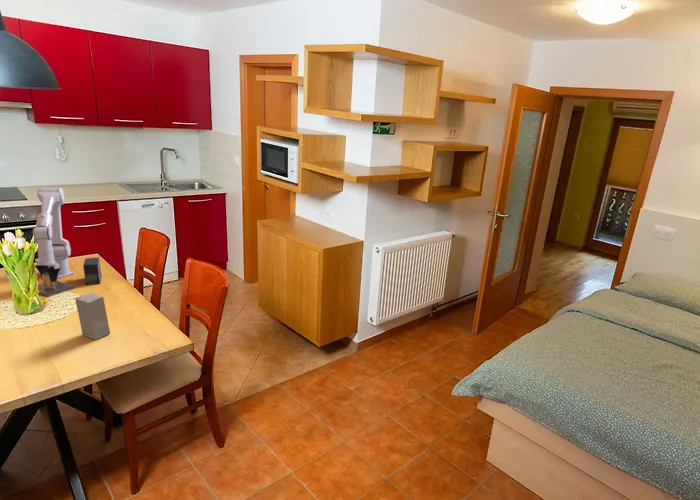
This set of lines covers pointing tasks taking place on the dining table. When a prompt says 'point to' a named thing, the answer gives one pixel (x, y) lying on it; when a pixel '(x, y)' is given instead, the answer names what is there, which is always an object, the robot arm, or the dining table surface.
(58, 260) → the robot arm
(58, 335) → the dining table surface
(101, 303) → the skincare box
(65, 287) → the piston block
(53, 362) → the dining table surface
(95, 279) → the small box
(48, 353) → the dining table surface
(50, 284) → the brown hollow prism
